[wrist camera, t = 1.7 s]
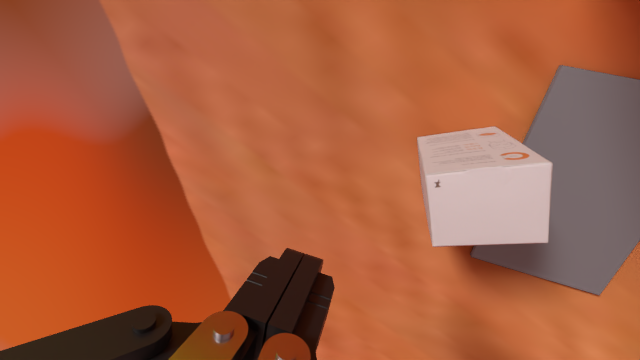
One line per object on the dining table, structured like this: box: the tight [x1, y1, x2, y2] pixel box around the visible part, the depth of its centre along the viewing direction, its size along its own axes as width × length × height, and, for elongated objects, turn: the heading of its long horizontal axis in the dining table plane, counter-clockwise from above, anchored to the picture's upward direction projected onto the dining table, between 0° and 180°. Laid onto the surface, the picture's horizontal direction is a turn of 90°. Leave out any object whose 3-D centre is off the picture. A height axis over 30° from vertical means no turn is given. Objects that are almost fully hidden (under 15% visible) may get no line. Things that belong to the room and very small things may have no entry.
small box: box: [417, 127, 553, 247], centre depth 27 cm, size 8×6×13 cm
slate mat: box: [470, 65, 640, 295], centre depth 31 cm, size 22×14×1 cm, turn 169°
